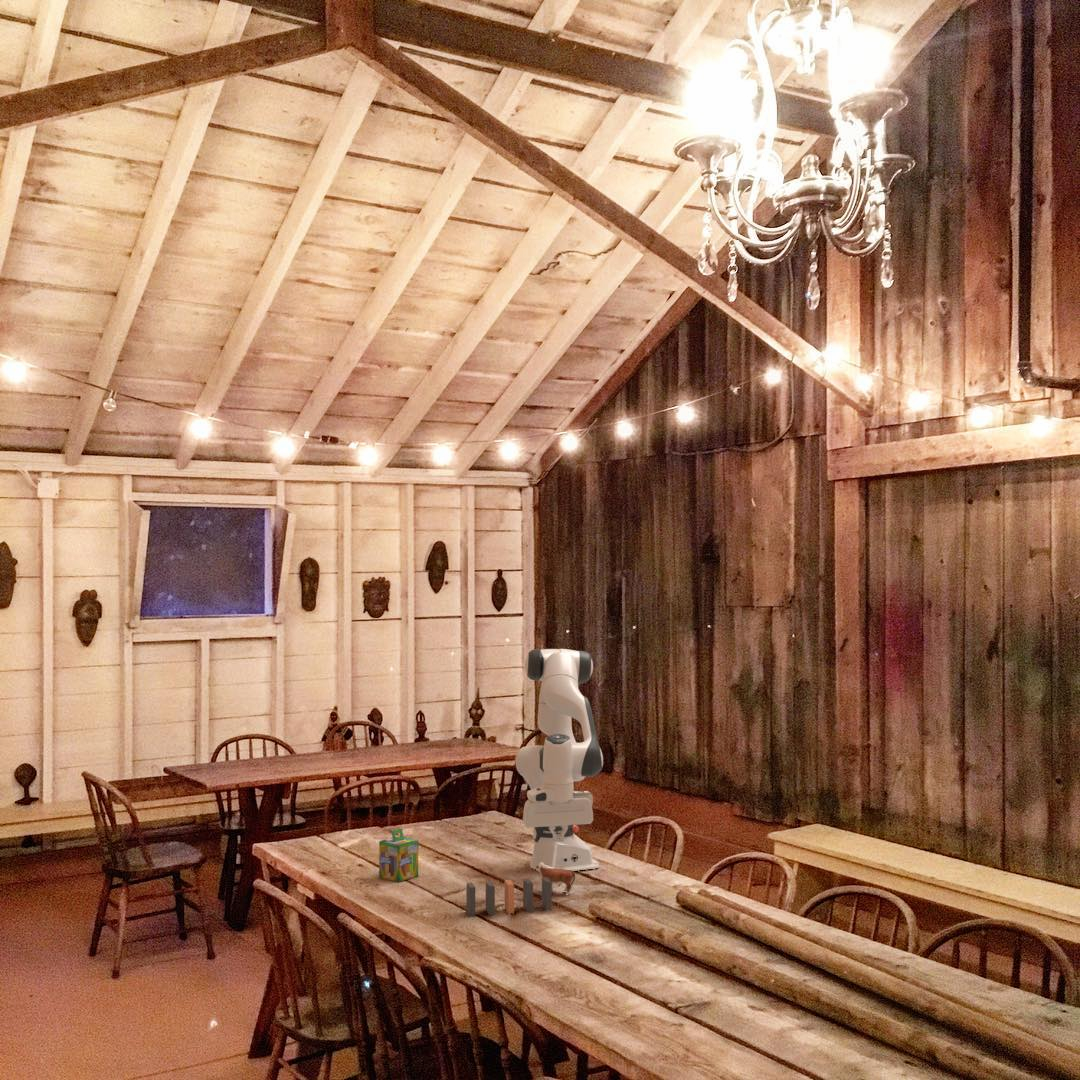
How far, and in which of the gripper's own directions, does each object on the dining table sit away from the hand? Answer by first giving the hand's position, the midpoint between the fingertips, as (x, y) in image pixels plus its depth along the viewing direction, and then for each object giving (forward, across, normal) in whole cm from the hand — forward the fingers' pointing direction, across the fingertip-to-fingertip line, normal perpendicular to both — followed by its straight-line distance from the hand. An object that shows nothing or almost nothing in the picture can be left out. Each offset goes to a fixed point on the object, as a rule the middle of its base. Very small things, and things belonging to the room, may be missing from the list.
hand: (558, 840), depth 311 cm
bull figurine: (+19, -3, -15) cm, 24 cm away
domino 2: (+19, +20, +1) cm, 27 cm away
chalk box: (+19, +41, -42) cm, 62 cm away
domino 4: (+19, +9, +1) cm, 21 cm away
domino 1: (+18, +26, +1) cm, 32 cm away
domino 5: (+19, +4, 0) cm, 19 cm away
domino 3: (+19, +15, +1) cm, 24 cm away
